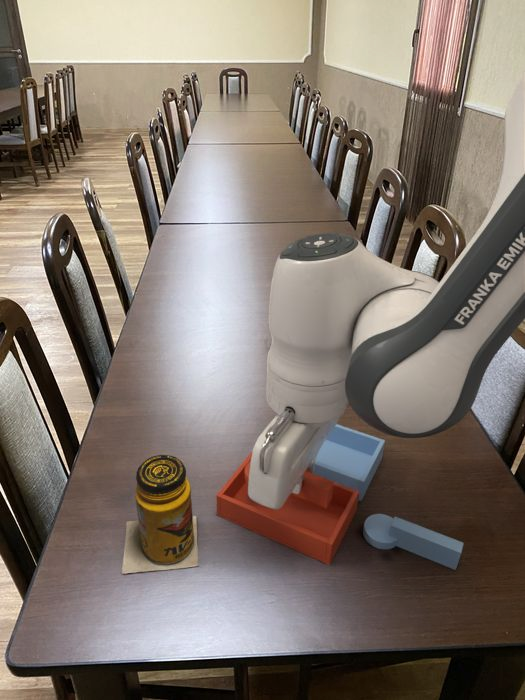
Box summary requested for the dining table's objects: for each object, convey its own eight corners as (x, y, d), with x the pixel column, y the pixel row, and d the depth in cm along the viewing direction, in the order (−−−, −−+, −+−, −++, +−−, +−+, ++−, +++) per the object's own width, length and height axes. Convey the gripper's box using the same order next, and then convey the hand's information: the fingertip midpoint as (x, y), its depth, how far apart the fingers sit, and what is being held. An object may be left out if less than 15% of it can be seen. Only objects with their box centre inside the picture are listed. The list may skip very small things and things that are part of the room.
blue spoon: (460, 551, 63) (466, 533, 62) (453, 579, 60) (458, 562, 59) (369, 515, 68) (372, 498, 66) (357, 540, 65) (360, 523, 63)
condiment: (198, 566, 61) (193, 490, 55) (121, 574, 60) (107, 498, 54) (196, 516, 67) (191, 443, 61) (127, 523, 66) (115, 449, 60)
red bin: (356, 510, 68) (359, 491, 67) (329, 565, 61) (332, 544, 60) (252, 469, 74) (252, 450, 73) (216, 515, 67) (216, 495, 66)
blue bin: (382, 458, 77) (385, 440, 75) (361, 501, 70) (364, 481, 68) (286, 425, 83) (287, 407, 81) (258, 462, 76) (258, 443, 74)
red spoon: (335, 492, 65) (338, 473, 64) (321, 516, 62) (324, 498, 60) (255, 460, 70) (255, 442, 68) (238, 481, 66) (238, 463, 65)
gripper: (293, 453, 48) (285, 555, 55) (366, 350, 63) (353, 440, 71) (232, 431, 50) (232, 531, 57) (317, 337, 66) (309, 425, 73)
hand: (299, 480), depth 64 cm, fingers closed on red spoon
